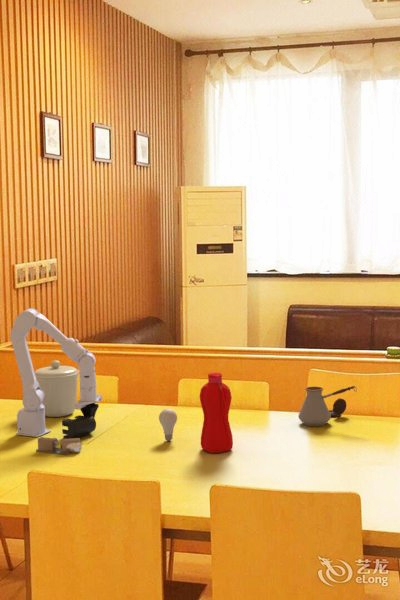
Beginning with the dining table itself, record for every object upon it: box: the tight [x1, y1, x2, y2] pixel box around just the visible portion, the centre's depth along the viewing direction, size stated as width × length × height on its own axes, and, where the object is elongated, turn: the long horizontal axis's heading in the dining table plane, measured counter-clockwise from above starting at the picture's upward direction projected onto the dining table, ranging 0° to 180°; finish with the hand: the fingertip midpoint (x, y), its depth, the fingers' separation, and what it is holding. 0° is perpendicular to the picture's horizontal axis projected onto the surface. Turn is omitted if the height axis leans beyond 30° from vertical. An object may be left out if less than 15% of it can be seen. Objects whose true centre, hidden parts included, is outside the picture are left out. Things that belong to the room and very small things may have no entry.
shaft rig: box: [35, 436, 83, 456], centre depth 261 cm, size 14×6×4 cm, turn 64°
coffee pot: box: [297, 385, 358, 427], centre depth 283 cm, size 21×12×15 cm, turn 59°
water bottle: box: [199, 372, 234, 454], centre depth 256 cm, size 9×11×25 cm
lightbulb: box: [158, 408, 178, 442], centre depth 269 cm, size 6×6×11 cm
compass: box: [328, 397, 347, 418], centre depth 295 cm, size 8×8×7 cm
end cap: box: [61, 415, 97, 439], centre depth 278 cm, size 10×7×7 cm
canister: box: [34, 359, 80, 418], centre depth 309 cm, size 18×18×21 cm
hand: (89, 424), depth 284 cm, fingers closed
